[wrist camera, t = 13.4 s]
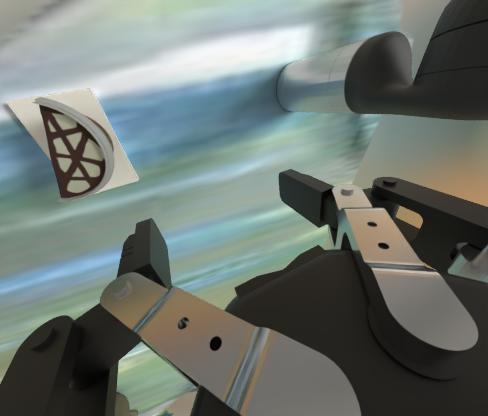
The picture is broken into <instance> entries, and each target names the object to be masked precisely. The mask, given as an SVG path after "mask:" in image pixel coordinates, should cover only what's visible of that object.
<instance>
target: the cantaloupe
mask: <svg viewBox="0 0 488 416" xmlns="http://www.w3.org/2000/svg"><path fill="white" fill-rule="evenodd" d="M115 416H130V408H129V402H128V400H127V398H126V397H125V396H124V395H122V394H120V393H116V403H115Z"/></svg>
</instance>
